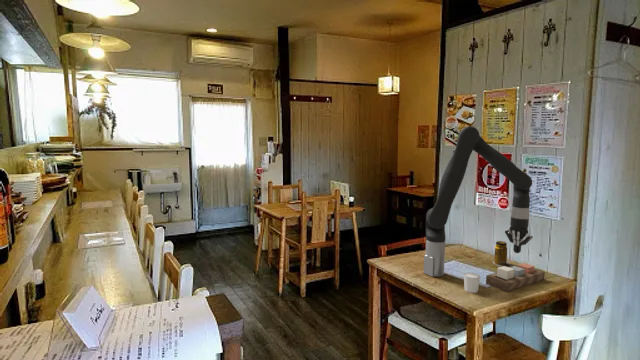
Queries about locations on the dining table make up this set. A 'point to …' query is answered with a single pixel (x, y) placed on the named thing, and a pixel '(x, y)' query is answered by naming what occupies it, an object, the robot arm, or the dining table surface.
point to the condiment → (501, 254)
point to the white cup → (471, 282)
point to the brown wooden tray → (514, 280)
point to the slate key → (518, 271)
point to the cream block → (505, 272)
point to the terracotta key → (527, 268)
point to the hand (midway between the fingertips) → (516, 252)
